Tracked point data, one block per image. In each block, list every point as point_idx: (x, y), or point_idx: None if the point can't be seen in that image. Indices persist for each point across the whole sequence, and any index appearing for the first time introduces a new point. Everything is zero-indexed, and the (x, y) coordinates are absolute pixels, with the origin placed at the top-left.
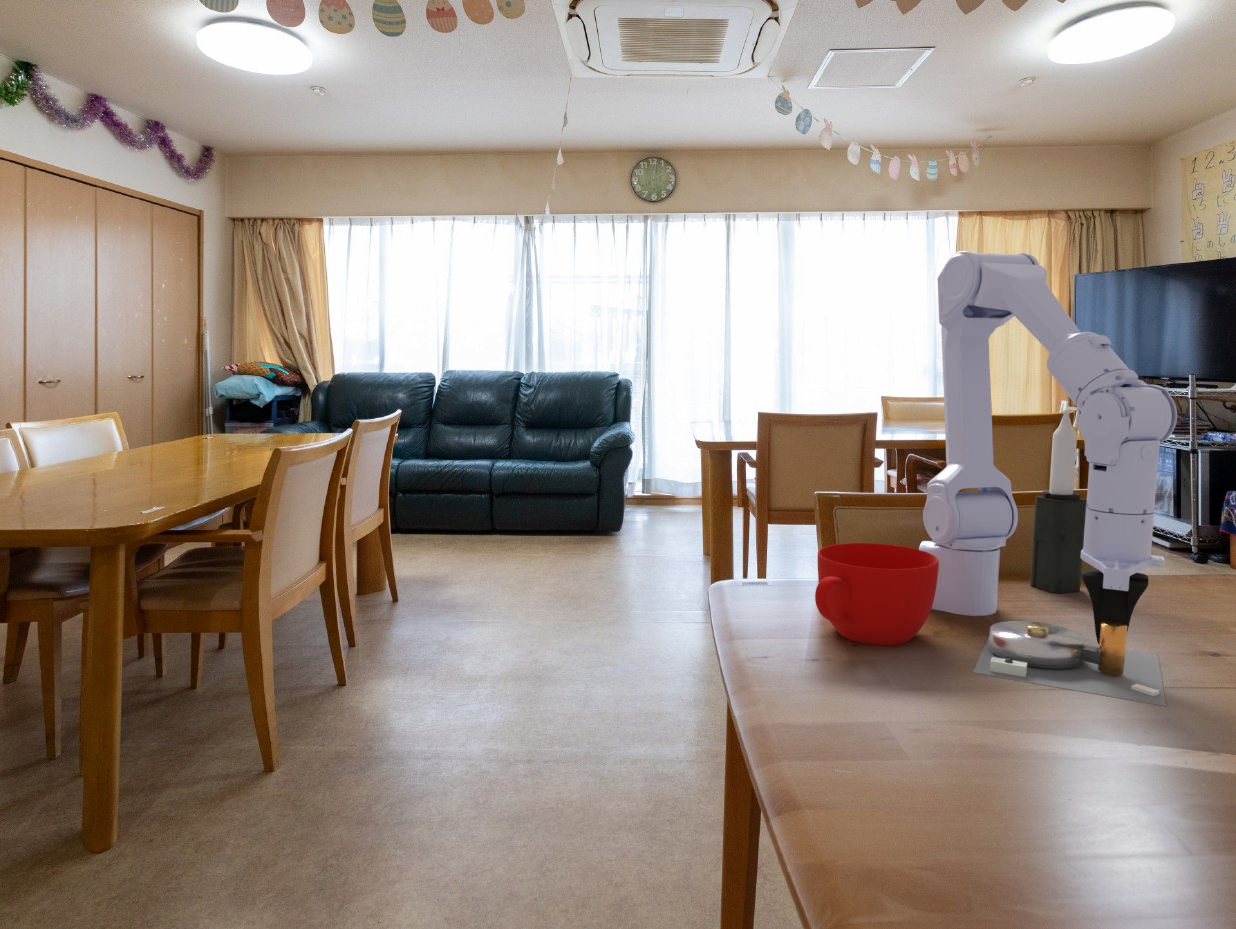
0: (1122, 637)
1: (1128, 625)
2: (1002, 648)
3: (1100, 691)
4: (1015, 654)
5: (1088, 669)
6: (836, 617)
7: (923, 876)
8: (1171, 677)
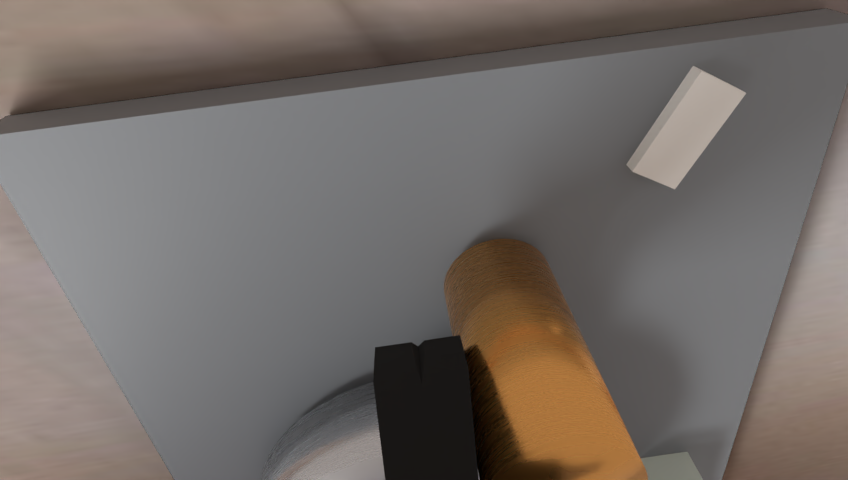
0: (607, 395)
1: (472, 436)
2: None
3: (754, 268)
4: None
5: None
6: None
7: None
8: (173, 28)
